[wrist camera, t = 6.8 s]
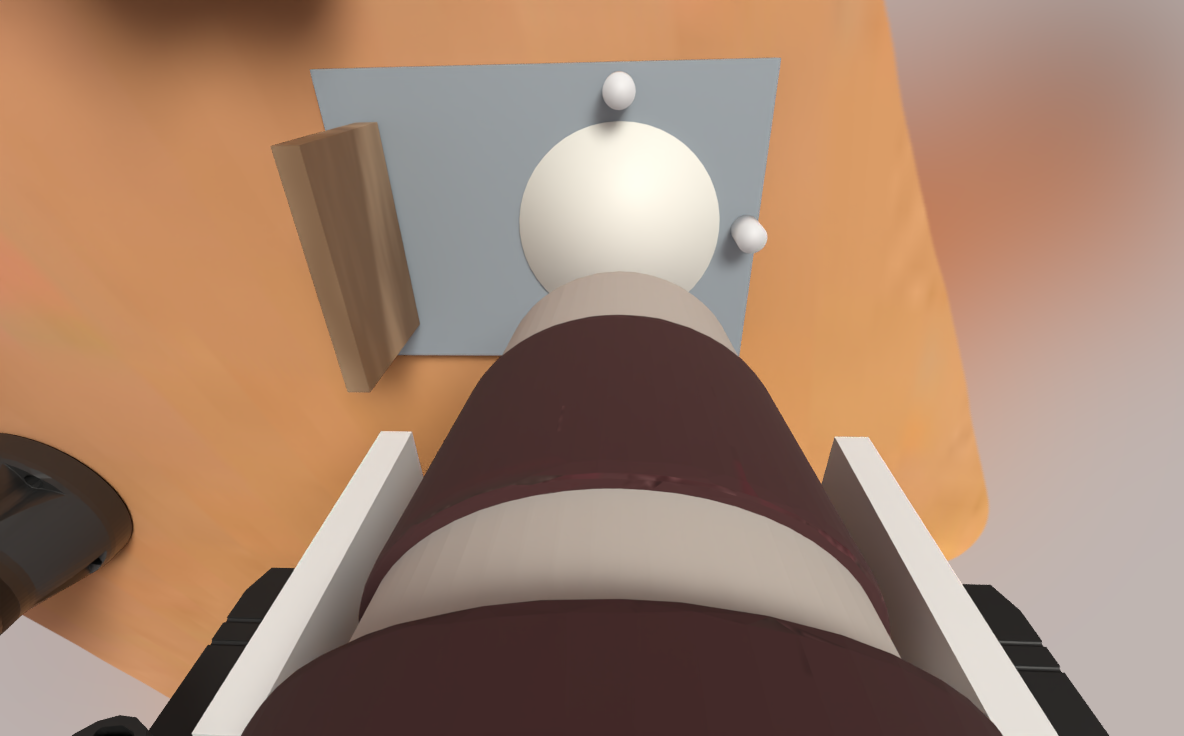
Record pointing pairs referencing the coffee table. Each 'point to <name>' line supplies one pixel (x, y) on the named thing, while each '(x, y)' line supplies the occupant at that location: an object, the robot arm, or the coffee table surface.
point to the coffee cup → (619, 558)
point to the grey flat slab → (564, 181)
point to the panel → (351, 245)
